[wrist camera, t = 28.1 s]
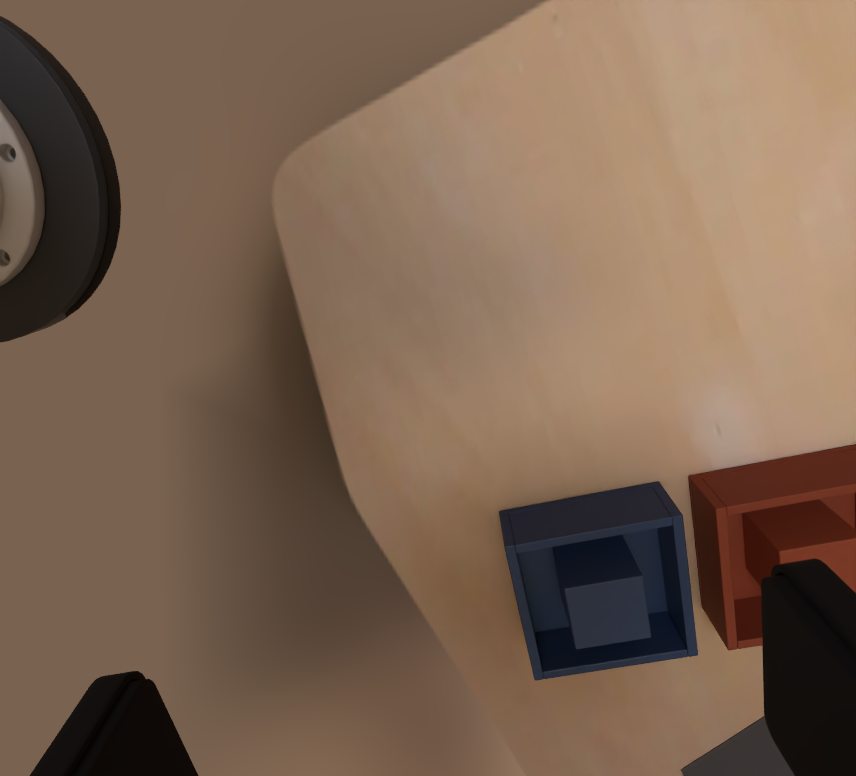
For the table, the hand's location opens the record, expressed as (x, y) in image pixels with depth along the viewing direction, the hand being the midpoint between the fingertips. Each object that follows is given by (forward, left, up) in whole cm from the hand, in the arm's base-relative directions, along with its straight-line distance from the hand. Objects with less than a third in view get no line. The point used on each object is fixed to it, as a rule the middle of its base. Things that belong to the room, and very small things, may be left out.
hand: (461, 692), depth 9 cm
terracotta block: (+17, -18, -26) cm, 36 cm away
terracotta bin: (+17, -18, -26) cm, 36 cm away
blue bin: (+5, -18, -26) cm, 32 cm away
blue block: (+5, -18, -26) cm, 32 cm away
